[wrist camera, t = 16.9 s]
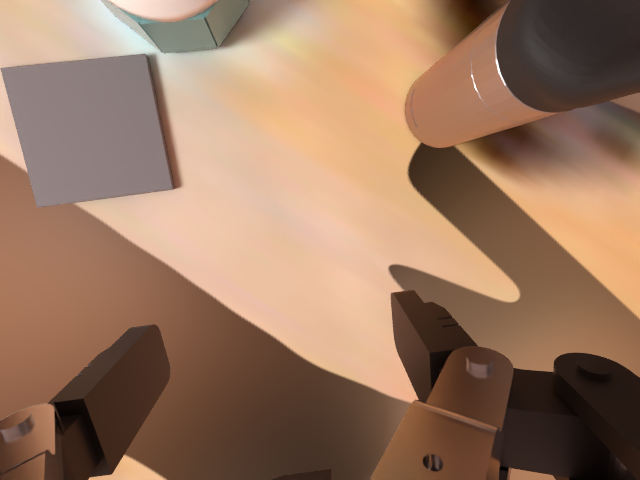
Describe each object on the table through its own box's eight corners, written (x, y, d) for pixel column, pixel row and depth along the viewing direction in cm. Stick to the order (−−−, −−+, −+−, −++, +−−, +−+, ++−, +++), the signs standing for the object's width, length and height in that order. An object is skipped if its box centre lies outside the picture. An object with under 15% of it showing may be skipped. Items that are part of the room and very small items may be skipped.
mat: (148, 57, 36) (145, 53, 35) (174, 189, 38) (172, 188, 37) (6, 71, 35) (0, 68, 34) (42, 207, 37) (37, 207, 36)
